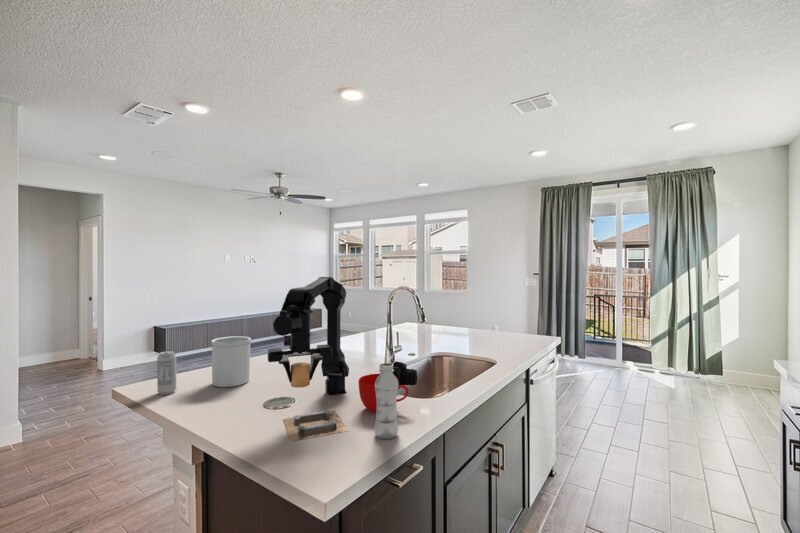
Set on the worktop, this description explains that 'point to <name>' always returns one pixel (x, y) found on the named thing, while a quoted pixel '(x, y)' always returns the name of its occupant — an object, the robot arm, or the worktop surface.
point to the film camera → (404, 374)
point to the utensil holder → (230, 361)
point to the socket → (314, 425)
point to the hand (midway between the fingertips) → (300, 381)
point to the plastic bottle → (386, 403)
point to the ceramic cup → (372, 391)
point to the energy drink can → (166, 373)
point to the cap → (300, 375)
